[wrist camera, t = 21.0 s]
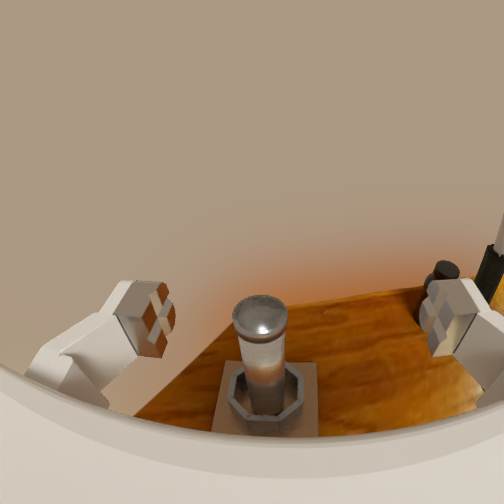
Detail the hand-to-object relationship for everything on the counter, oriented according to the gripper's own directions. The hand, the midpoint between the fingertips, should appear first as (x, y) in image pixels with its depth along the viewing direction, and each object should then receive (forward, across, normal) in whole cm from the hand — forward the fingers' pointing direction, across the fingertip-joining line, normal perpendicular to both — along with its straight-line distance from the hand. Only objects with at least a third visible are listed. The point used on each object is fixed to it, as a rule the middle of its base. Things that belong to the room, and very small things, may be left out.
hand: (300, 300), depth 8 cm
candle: (+31, -42, +32) cm, 61 cm away
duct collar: (+12, +3, +32) cm, 34 cm away
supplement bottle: (+28, -27, +32) cm, 51 cm away
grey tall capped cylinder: (+12, +3, +31) cm, 33 cm away
